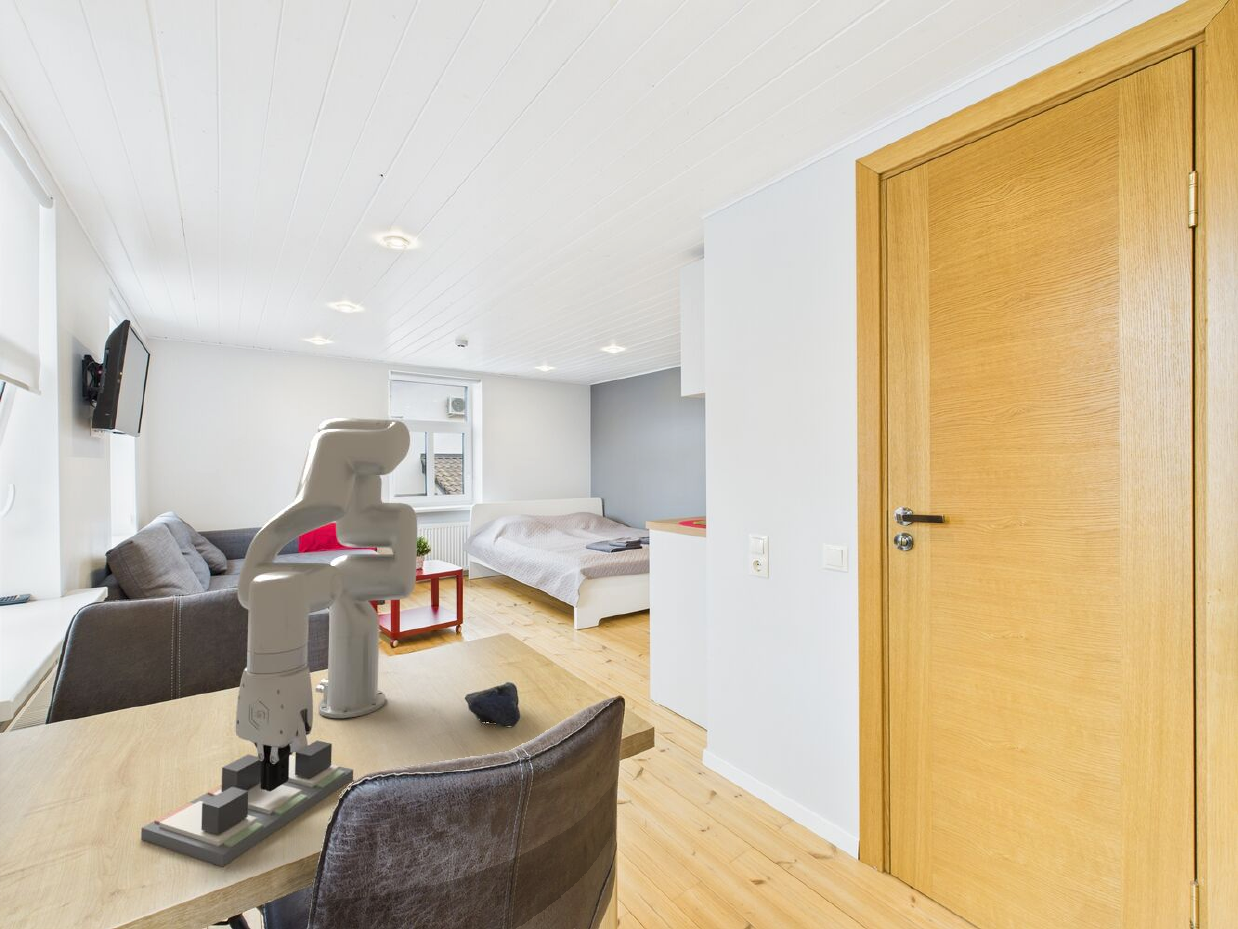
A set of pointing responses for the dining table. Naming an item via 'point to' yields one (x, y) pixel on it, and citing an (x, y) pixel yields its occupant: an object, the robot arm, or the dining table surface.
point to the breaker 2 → (313, 759)
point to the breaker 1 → (224, 810)
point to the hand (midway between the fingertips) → (274, 785)
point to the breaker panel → (263, 818)
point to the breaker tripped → (242, 773)
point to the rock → (496, 704)
